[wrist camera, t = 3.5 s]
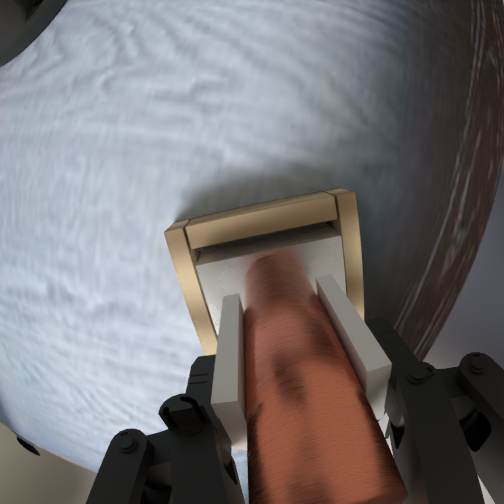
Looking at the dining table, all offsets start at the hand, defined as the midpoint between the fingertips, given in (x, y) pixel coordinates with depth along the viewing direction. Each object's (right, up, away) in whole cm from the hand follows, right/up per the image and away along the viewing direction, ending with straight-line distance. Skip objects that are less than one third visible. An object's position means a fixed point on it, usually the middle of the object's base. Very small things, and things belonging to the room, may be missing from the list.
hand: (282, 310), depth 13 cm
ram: (0, +1, +7) cm, 7 cm away
